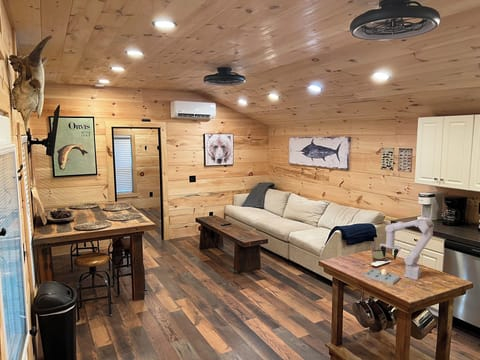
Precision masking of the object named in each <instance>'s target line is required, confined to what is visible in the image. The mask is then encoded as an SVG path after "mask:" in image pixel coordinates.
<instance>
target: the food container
mask: <svg viewBox="0 0 480 360" xmlns="http://www.w3.org/2000/svg"><path fill="white" fill-rule="evenodd" d="M370 251H371V253H372V255H371V256H372V262H375V263H377V262H376V261H385V262H386V259H387V254H388V248H386V255H385V257H383V253H382V250H381V247H380V246H379V247H378V246H377V247H372V248H371V250H370Z"/></svg>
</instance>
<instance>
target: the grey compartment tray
mask: <svg viewBox="0 0 480 360" xmlns="http://www.w3.org/2000/svg"><path fill="white" fill-rule="evenodd" d="M363 277H364V278H367V279H371V280H374V281H379V282H381V283H383V284H384V283H385V284H389V285H392V286H393V285H394V284H396V283H397V282H398V281H400V279H401V276H400V275H397V274H394V273H391V272H387V276H385V275H381V270H379V269H375V268H372V269H370V270H368V271H367V272H364V276H363Z"/></svg>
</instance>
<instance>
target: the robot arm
mask: <svg viewBox="0 0 480 360" xmlns="http://www.w3.org/2000/svg"><path fill="white" fill-rule="evenodd" d="M434 225H435V224H434V223H433V220H432V219H430V218H420V219H414V220H411V221H406V222H404V221H400V220H399V221H397V222H395V223H394V222H392V223H390V224H387V225H386V226H385V228H384V229H385V232H386V233H385V234H386V235H385V236H386V237H385V238H386V239H385V240H386V241H385V243H379V248H381V250H382V253H383V257H385V255H386V256H387V253H386V249H391V250H393V260H396V259H397V256H398V253H399V252H400V251H401V247H399V246H397V245H395V237H396V236H395V235H396V234H395V233H396V232H398V231H402V230H405V229H406V228H409V227H416V228H418V229H419V230H420V232H421V233H422V236H421V237H420V239H419V240H418V242H417V243H416V245H415V246H414V247H413V249H412V251H411V252H410V253H408V255H407V256H406V257H404V260H403V261H404V264H405V269H404V274H403V275H402V276H403V277H405V278H408V279H412V280H414V281H415V280H416V281H417V280H419V279H420V277H421V266H420V265H418V264H417V263H418V262H419V261H420V260H419V259H420V256H421V253H422V252H423V250H424V249H425V247H426V245H427V244H428V243H429V241H430V240H431V238H432V237H433V234H434Z"/></svg>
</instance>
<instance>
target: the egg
mask: <svg viewBox="0 0 480 360" xmlns="http://www.w3.org/2000/svg"><path fill="white" fill-rule="evenodd" d="M380 271H381V275H385V276H387V273H388V271H387V268H383V269H381V270H380Z"/></svg>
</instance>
